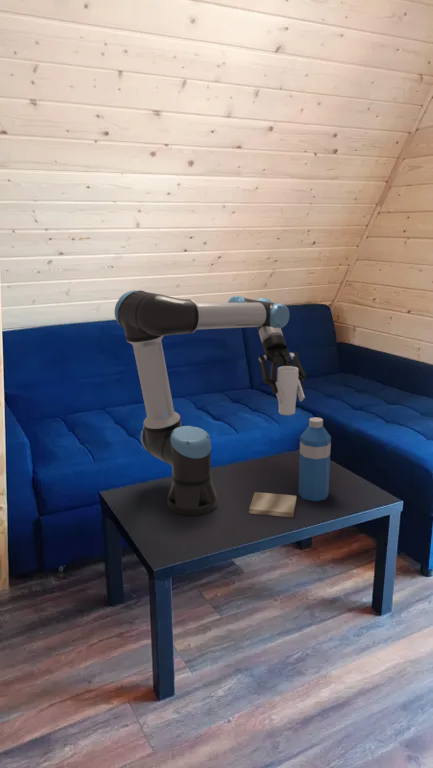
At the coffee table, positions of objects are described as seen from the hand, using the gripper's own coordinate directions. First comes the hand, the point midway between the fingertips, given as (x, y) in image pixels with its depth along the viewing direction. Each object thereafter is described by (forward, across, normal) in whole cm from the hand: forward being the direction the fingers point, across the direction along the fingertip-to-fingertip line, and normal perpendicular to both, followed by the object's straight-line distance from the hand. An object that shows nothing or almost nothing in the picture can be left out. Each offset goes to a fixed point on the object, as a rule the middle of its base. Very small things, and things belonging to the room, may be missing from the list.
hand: (291, 400), depth 185 cm
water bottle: (+28, -3, -13) cm, 31 cm away
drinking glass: (+1, 0, -6) cm, 7 cm away
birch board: (+30, +12, -10) cm, 34 cm away
